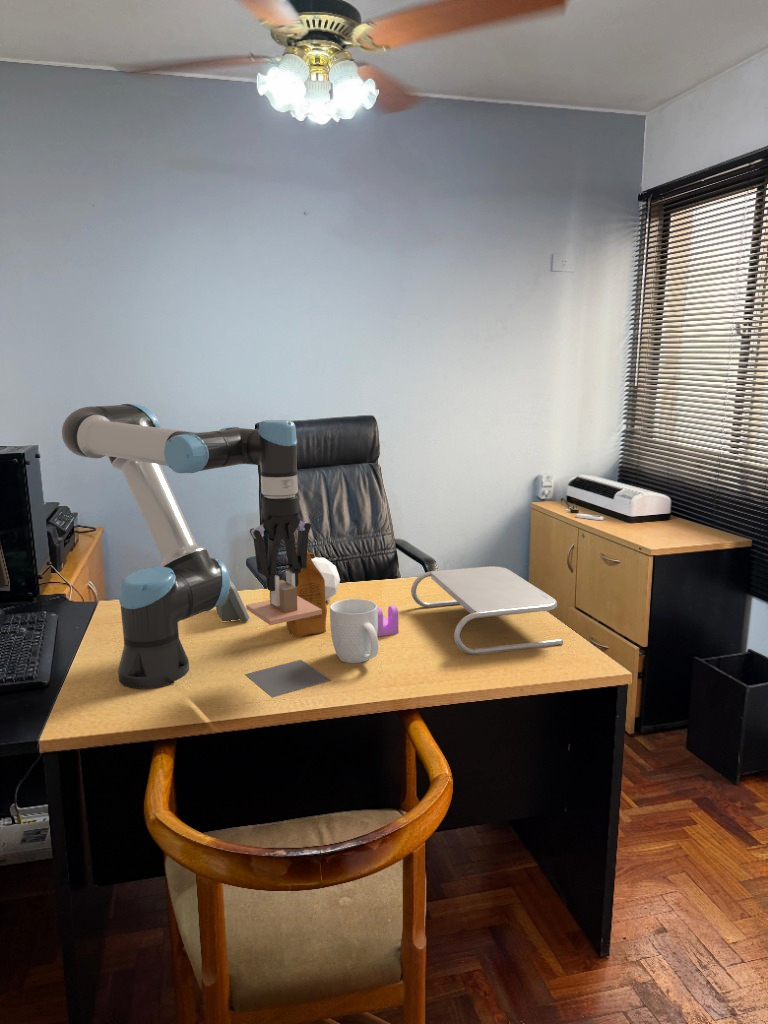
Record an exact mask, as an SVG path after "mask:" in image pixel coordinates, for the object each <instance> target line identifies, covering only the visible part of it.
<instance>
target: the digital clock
mask: <svg viewBox="0 0 768 1024" xmlns="http://www.w3.org/2000/svg"><path fill="white" fill-rule="evenodd" d="M215 611H216V614H217V615H218V617H219V619H220V620H221V622H222V621H229V622H232V621H231V620H236V621H240V622H241V623H247V622H248V621H249V620H250V615H249V613H248V610H247V609H246V606H245V605H244V602H243V600H242V597H241V596H240V593H239V592H238V590H237V587H236V586H235V584H234V582H233V581H232V580H231V579H230V589H229V593H228V596H227V598H226V599H225V601H224V602H223V603H222V604H220V605H219V606H217V607H215ZM238 619H240V620H238Z"/></svg>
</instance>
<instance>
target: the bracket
mask: <svg viewBox="0 0 768 1024" xmlns="http://www.w3.org/2000/svg"><path fill="white" fill-rule="evenodd" d="M383 613H384V612H383V610H382V608H381V607H377V614H378V630H377V637H382V636H390V635H391V636H392V635H396V634H399V632H400V631H399V609H398V607H397V605H389V606H388V609H387V617H385V616H384V615H383Z"/></svg>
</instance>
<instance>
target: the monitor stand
mask: <svg viewBox="0 0 768 1024" xmlns="http://www.w3.org/2000/svg"><path fill="white" fill-rule="evenodd" d="M428 577H429V578H430V579H432V581H433V582H435V583H436V584H437V585H438V586H439V588H441V589H442V590H444V592H445V593H446V594H448V595H449V597H451V598H453V600H446V601H445V600H444V601H436V602H435V601H433V602H432V601H431V602H424V601H422V600H421V599H420V598H419V597H418V594H417V589H418V586H419V584H420V583H421V581H422V580H424V579H426V578H428ZM410 594H411V596H412V599H413V601H414V602H415V603H416V604H418V605H419V606H420V607H422V608H442V607H447V606H448V607H449V606H459V605H460V606H462V607H463V609H464V610H466V611H467V612H468V613H469V614H468V615H467V614H466V615H465V616H464V617H463V618H461V619H460V620H459V622H458V623H457V625H456V626H455V629H454V632H453V637H454V642H455V644H456V646H457V647H458V648H459V650H460V651H462V652H463V653H466V654H469V655H475V656H476V655H477V656H478V655H487V654H493V653H494V654H495V653H503V652H511V651H518V650H528V649H536V648H547V647H554V646H555V647H556V646H562V645H563V644H564V642H563V639H562V638H561V639H560V638H559V639H552V640H543V641H534V642H526V643H525V642H524V643H516V644H515V643H514V644H506V645H505V644H504V645H498V646H497V645H496V646H488V647H480V648H470V647H467V646H466V645H465V644H464V643H463V642H462V639H461V634H462V633H461V632H462V629H463V628H464V627H465V625H466V624H467V623H468V622H469V621H471V620H473V619H480V618H491V617H500V616H509V615H519V614H529V613H530V614H531V613H538V612H539V613H541V612H548V611H552V610H555V608H557V606H558V601H557V600H556V599H555V598H554V597H552V596H551V595H549V594H548V593H547V592H544V591H543V590H541V588H538V587H537V586H535V585H534V584H532V583H530V582H529V581H527V580H525V579H524V578H522V577H521V576H519V575H518V574H516V573H515V572H513V571H511V570H510V569H509V568H505V567H503V566H491V565H490V566H479V567H467V568H454V569H444V570H442V569H441V570H431V571H430V570H429V571H427V572H424V573H422V574H420V575H419V576H417V577H416V578H415V580H414V581H413V583H412V585H411V589H410Z"/></svg>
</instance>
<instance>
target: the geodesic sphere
mask: <svg viewBox="0 0 768 1024" xmlns="http://www.w3.org/2000/svg"><path fill="white" fill-rule="evenodd" d="M311 560H312V562H313V563H314V565H315V566H316V568H317V569H318V570H319V572H320V573H321V575H322V576H323V578H324V580H325V597H326V598H325V602H327V601H328V600H329V599H330V598H332V597H334V596H335V595H336V594H337V591H338V589H339V585H340V582H341V578H340V575H339V572H338V568H337V566H336V565H335V564H333V563H332V562H331V561H330V560H328V559H326V558H325V557H318V556H315V558H313V559H311Z"/></svg>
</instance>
